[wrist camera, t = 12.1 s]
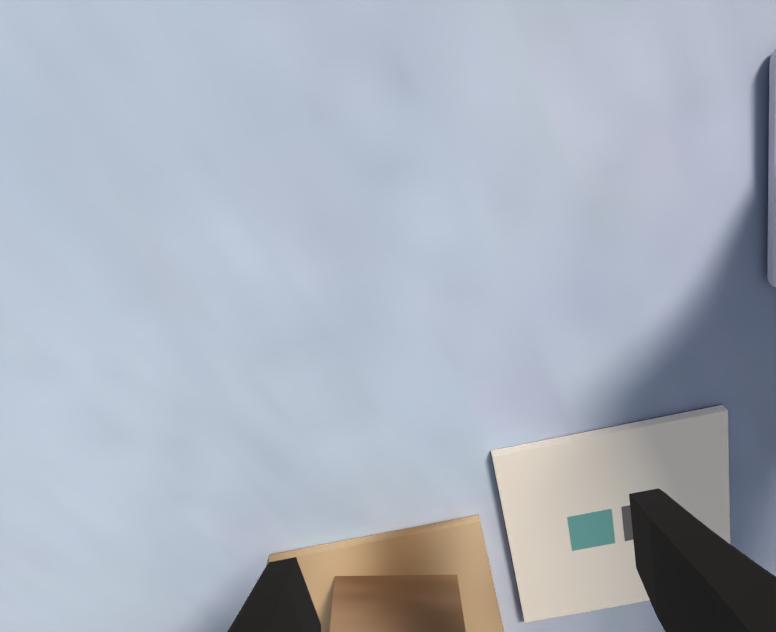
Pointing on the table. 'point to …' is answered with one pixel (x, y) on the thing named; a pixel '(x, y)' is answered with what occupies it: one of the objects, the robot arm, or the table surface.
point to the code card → (604, 505)
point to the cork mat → (407, 566)
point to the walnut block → (397, 604)
